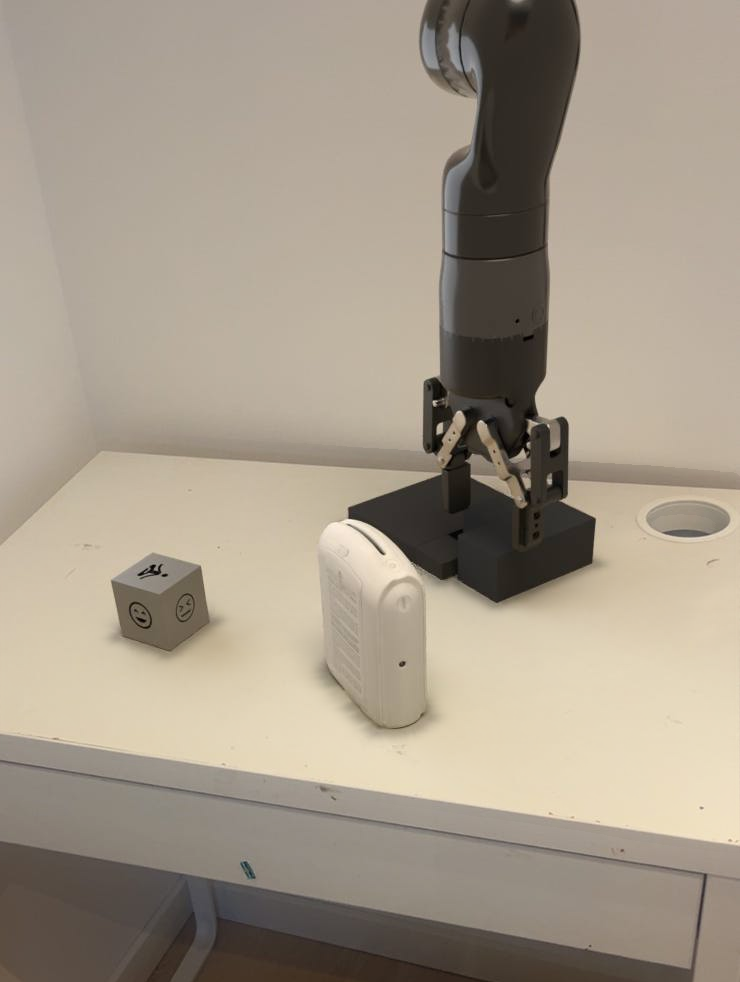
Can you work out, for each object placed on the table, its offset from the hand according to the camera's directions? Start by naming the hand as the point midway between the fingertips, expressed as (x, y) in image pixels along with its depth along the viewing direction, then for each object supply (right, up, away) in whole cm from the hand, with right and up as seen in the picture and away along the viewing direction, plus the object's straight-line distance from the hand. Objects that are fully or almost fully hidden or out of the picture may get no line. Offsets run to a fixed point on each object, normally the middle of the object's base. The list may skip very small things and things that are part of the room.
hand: (490, 528), depth 91 cm
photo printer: (-10, -14, -7) cm, 18 cm away
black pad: (-2, +3, +11) cm, 12 cm away
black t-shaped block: (+3, -2, +6) cm, 6 cm away
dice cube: (-26, -8, +2) cm, 27 cm away
